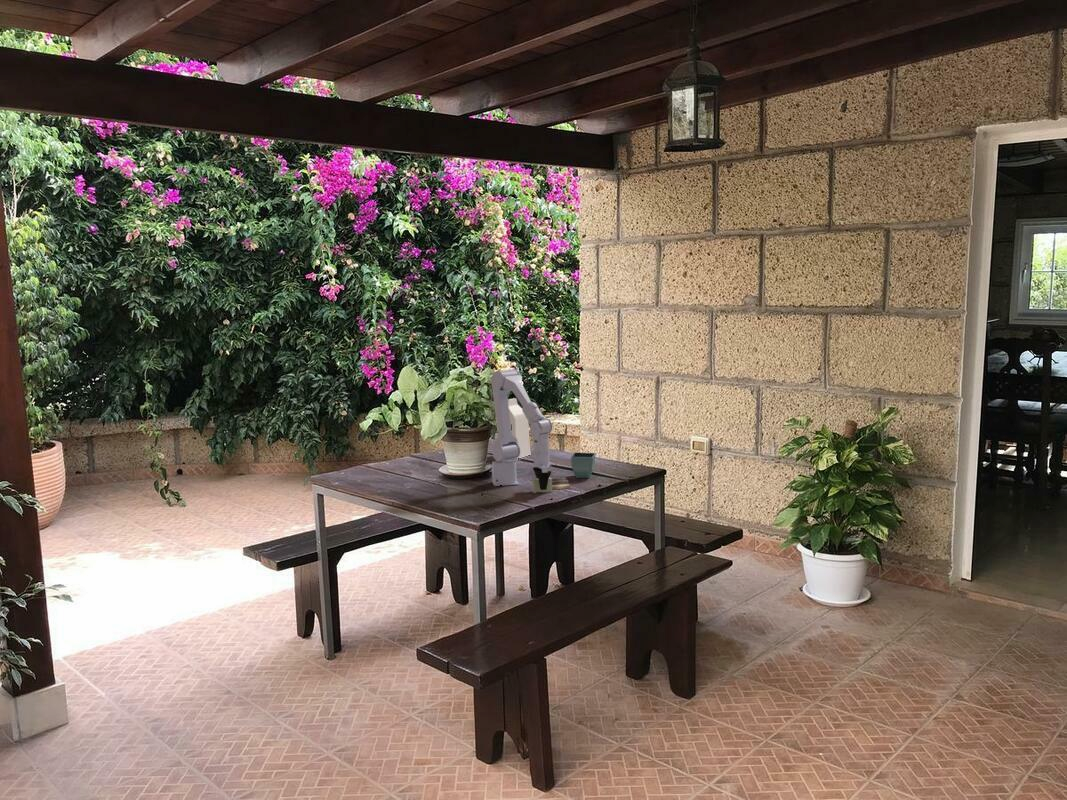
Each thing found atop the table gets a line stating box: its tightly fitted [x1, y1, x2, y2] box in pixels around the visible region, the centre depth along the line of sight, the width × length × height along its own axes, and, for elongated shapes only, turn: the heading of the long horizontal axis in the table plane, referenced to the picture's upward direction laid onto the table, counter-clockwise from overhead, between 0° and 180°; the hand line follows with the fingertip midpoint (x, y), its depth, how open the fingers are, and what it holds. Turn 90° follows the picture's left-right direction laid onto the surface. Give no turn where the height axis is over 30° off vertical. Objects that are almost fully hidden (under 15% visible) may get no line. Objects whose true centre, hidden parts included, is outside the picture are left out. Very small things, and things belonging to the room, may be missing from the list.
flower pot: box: [570, 452, 596, 479], centre depth 342 cm, size 9×9×9 cm
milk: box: [494, 397, 532, 459], centre depth 385 cm, size 12×12×26 cm
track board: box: [551, 477, 571, 490], centre depth 329 cm, size 10×12×2 cm
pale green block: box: [531, 476, 553, 494], centre depth 320 cm, size 7×2×5 cm, turn 99°
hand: (542, 487), depth 320 cm, fingers open, 5 cm apart
